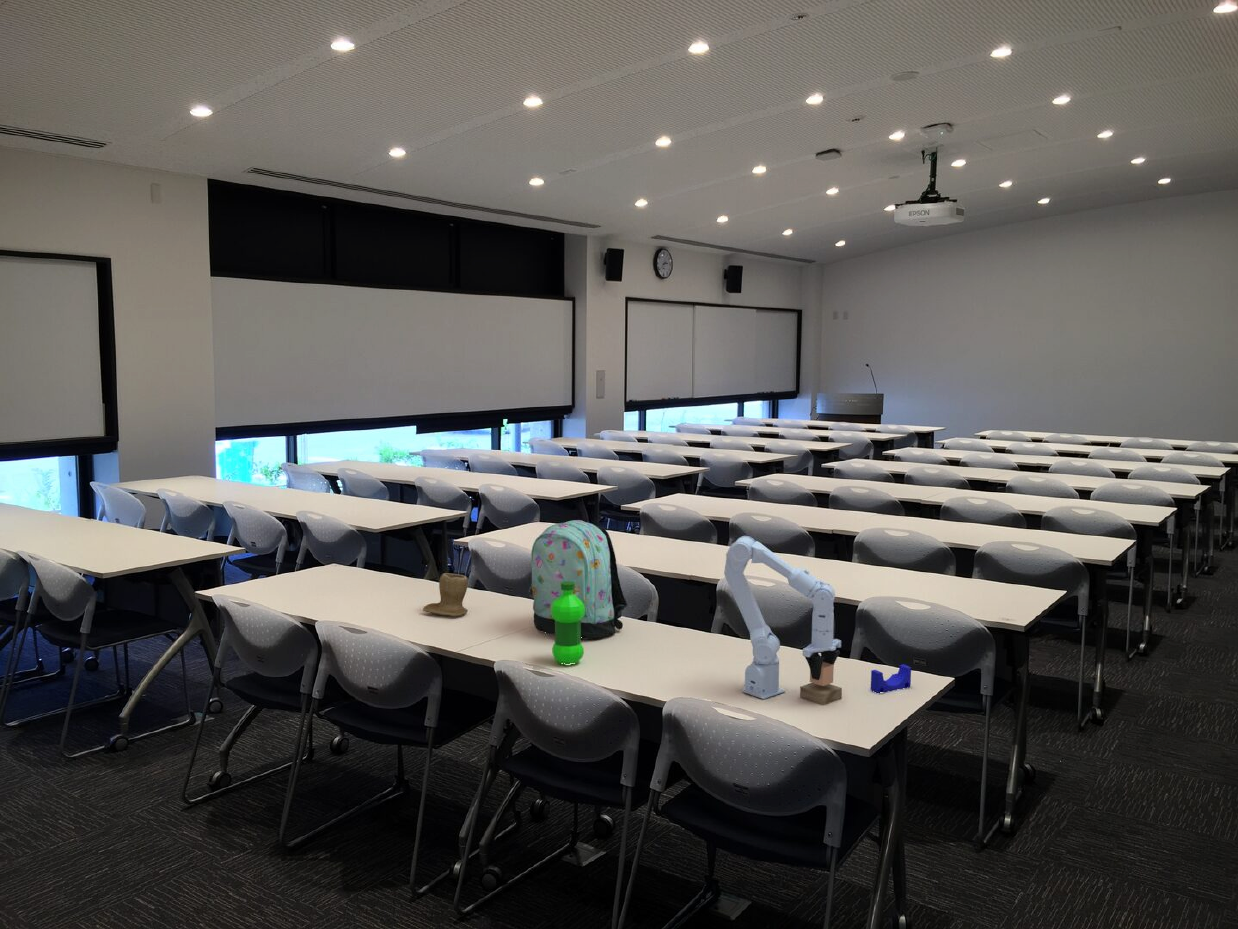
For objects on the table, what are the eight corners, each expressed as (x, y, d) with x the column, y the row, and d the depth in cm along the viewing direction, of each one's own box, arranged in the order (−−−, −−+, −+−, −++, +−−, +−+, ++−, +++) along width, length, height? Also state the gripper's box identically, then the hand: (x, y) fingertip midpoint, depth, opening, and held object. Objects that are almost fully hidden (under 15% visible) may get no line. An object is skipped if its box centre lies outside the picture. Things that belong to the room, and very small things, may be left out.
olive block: (823, 705, 256) (823, 694, 256) (800, 697, 262) (800, 686, 262) (841, 698, 261) (841, 687, 261) (818, 690, 267) (818, 680, 267)
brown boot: (475, 612, 349) (474, 572, 347) (455, 620, 338) (454, 579, 337) (442, 607, 356) (441, 568, 354) (421, 615, 345) (421, 574, 344)
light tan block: (823, 686, 258) (823, 668, 257) (809, 681, 261) (810, 664, 261) (833, 682, 261) (833, 665, 260) (819, 678, 264) (820, 661, 264)
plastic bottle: (568, 670, 284) (568, 588, 281) (544, 662, 291) (543, 583, 288) (591, 662, 291) (591, 583, 289) (567, 655, 298) (567, 577, 296)
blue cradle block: (899, 683, 274) (899, 663, 274) (910, 688, 270) (911, 667, 270) (866, 689, 269) (867, 668, 268) (877, 694, 265) (878, 673, 264)
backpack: (515, 638, 317) (514, 524, 313) (546, 619, 340) (546, 513, 336) (604, 648, 306) (604, 530, 302) (630, 628, 329) (631, 519, 324)
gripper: (817, 637, 252) (816, 686, 253) (850, 627, 261) (849, 675, 263) (796, 631, 257) (795, 679, 259) (829, 622, 267) (828, 668, 268)
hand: (821, 677), depth 261 cm, fingers closed on light tan block, 4 cm apart
